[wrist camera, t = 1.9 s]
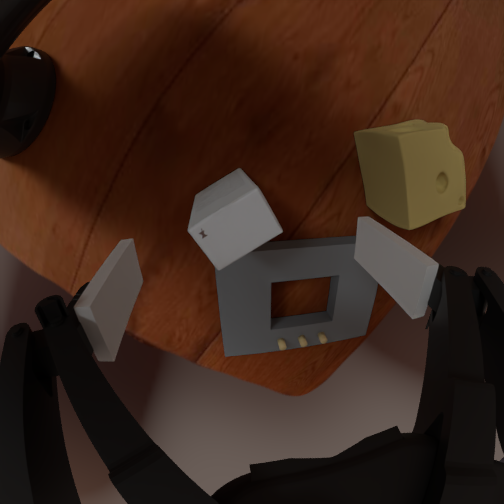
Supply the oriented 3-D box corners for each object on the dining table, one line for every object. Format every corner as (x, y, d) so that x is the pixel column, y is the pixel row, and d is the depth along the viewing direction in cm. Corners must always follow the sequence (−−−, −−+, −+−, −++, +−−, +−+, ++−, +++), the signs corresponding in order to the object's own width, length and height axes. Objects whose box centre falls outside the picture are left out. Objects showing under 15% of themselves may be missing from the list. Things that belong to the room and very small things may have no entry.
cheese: (410, 118, 29) (463, 122, 20) (420, 192, 34) (468, 213, 25) (347, 129, 29) (396, 132, 20) (363, 210, 34) (408, 238, 25)
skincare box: (214, 224, 32) (216, 273, 21) (194, 194, 30) (184, 230, 19) (259, 197, 31) (285, 233, 21) (240, 165, 30) (257, 184, 19)
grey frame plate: (224, 344, 40) (225, 364, 36) (213, 246, 33) (213, 260, 29) (359, 325, 42) (369, 340, 38) (376, 234, 35) (392, 245, 32)
